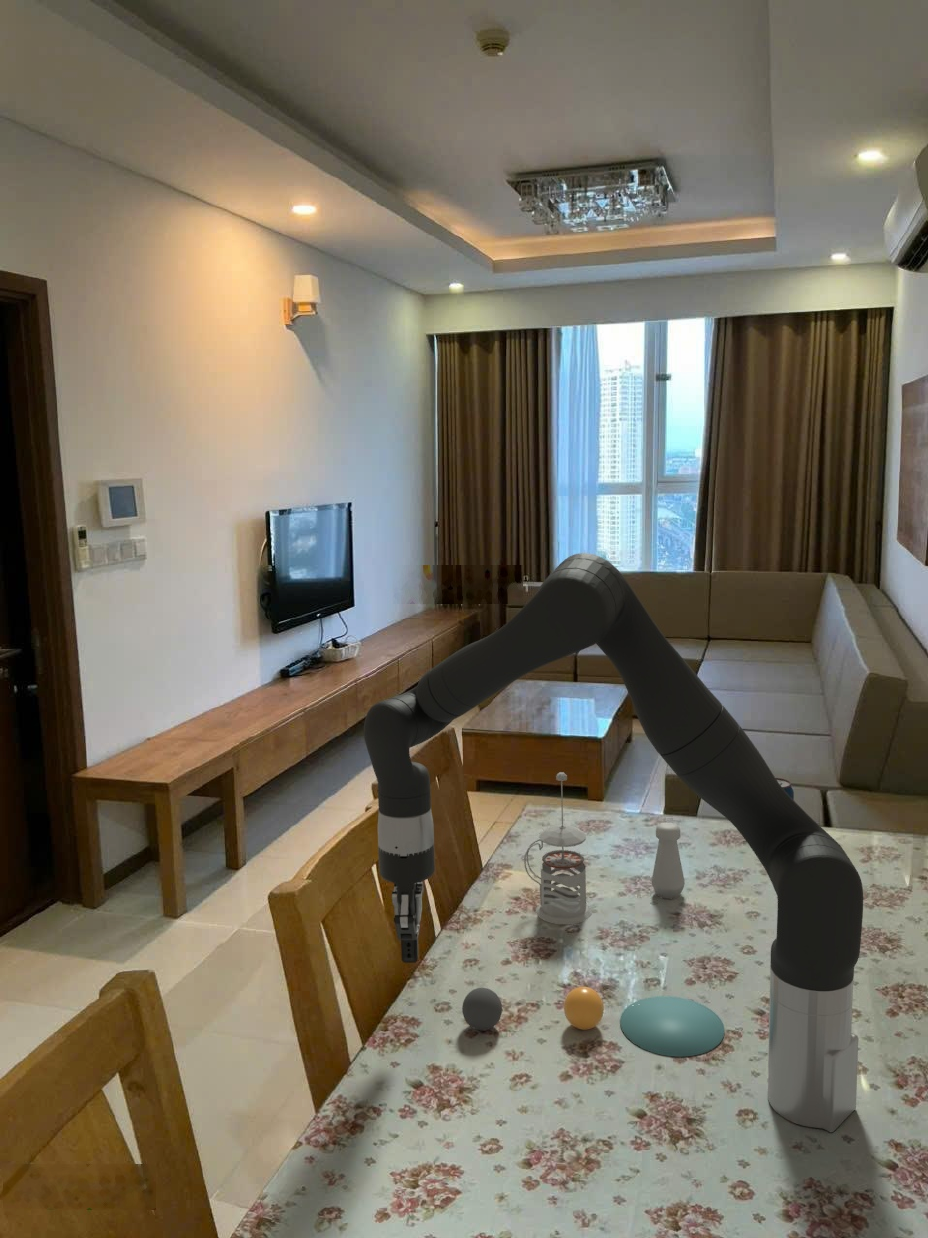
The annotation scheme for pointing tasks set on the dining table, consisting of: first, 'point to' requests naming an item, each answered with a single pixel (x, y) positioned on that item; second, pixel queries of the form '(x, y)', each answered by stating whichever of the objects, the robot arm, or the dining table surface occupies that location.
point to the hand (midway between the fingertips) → (410, 960)
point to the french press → (562, 874)
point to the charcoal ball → (482, 1009)
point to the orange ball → (583, 1008)
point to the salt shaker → (668, 863)
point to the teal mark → (672, 1026)
